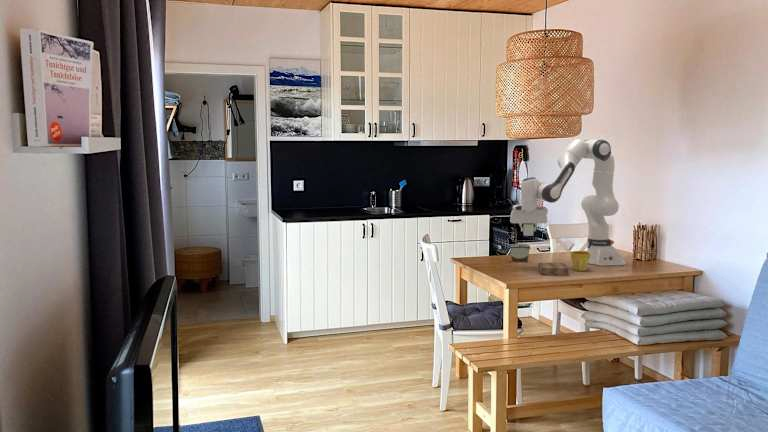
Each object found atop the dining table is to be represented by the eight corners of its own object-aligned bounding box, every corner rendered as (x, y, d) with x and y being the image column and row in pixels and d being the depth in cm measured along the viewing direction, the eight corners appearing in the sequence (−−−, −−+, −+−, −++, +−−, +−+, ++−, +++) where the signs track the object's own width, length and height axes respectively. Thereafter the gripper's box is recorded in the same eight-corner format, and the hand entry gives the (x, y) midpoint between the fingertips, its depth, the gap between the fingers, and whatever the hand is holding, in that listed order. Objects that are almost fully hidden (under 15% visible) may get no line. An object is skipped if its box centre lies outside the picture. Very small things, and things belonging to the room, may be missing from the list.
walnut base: (563, 270, 356) (564, 263, 356) (568, 275, 342) (568, 268, 342) (537, 269, 358) (538, 262, 357) (541, 275, 344) (541, 267, 344)
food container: (529, 260, 385) (529, 243, 384) (530, 262, 379) (530, 245, 378) (507, 260, 386) (508, 243, 385) (508, 262, 380) (509, 245, 379)
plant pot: (566, 269, 358) (566, 252, 357) (577, 267, 365) (578, 250, 363) (582, 272, 350) (582, 254, 349) (593, 270, 356) (594, 252, 355)
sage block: (532, 234, 365) (532, 223, 365) (533, 235, 360) (533, 225, 360) (523, 234, 366) (523, 223, 365) (524, 235, 361) (524, 225, 360)
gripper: (547, 206, 363) (546, 230, 365) (509, 206, 365) (509, 230, 367) (548, 207, 357) (548, 232, 359) (510, 207, 359) (510, 231, 361)
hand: (528, 231), depth 363 cm, fingers closed on sage block, 5 cm apart
